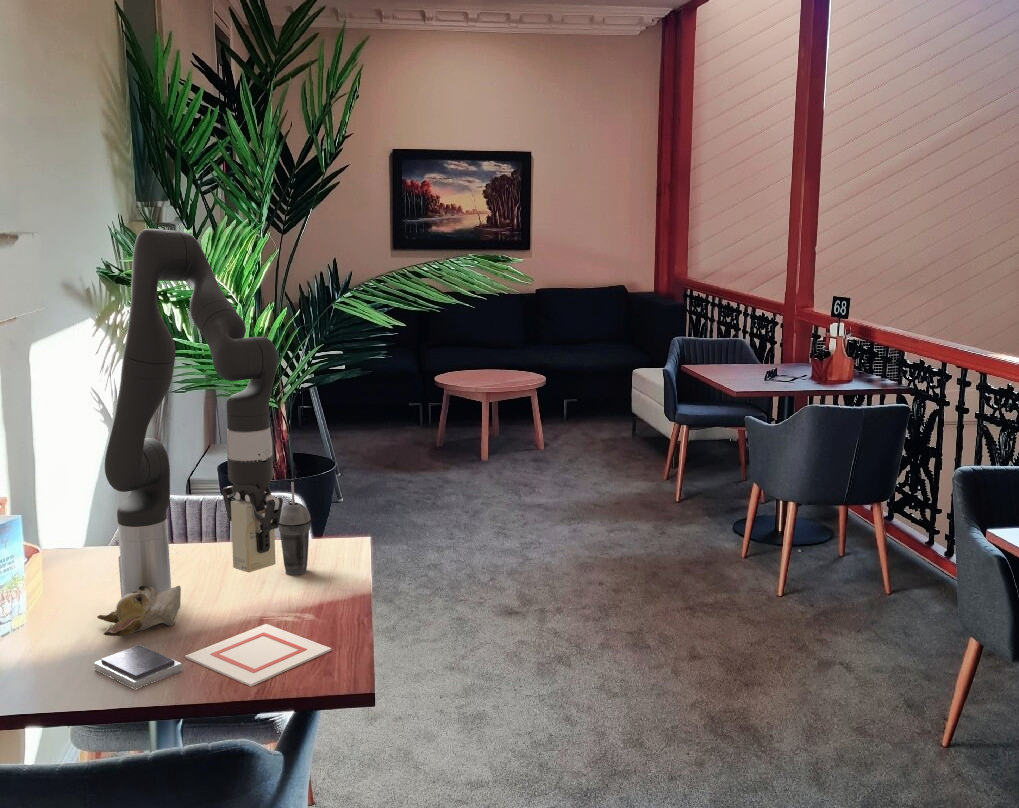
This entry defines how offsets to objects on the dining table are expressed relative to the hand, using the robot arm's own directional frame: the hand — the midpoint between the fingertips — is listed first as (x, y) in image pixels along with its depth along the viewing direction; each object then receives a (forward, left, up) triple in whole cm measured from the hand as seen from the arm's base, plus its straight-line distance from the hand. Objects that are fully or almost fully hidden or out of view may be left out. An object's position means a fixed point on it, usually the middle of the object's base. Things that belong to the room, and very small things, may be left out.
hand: (254, 548), depth 179 cm
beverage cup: (-27, +32, -20) cm, 46 cm away
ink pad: (-11, -17, -20) cm, 28 cm away
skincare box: (0, 0, -3) cm, 3 cm away
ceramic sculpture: (-26, -6, -20) cm, 34 cm away
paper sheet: (0, 0, -20) cm, 20 cm away
